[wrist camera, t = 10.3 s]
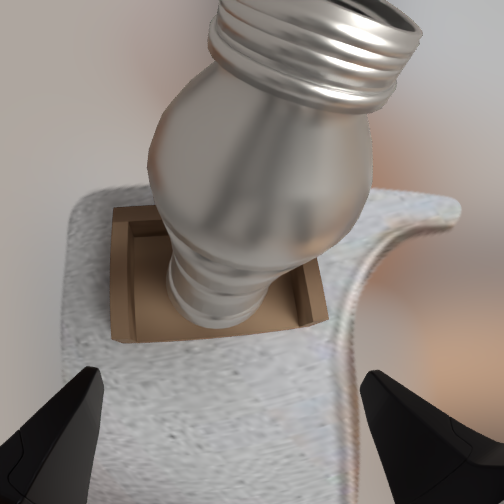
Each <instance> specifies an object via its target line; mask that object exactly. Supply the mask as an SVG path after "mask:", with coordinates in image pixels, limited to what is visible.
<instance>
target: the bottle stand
mask: <svg viewBox="0 0 504 504" xmlns="http://www.w3.org/2000/svg"><path fill="white" fill-rule="evenodd" d="M172 253H173V249H172V244H171V239H170V236H169V234H168V232H167V229H166V227H165V225H164V223H163V220H162V218H161V216H160V214H159V211H158V209H157V207H156V205H147V206H130V207H116V208H113V219H112V234H111V253H110V321H111V339H112V340H115V341H118V342H121V343H150V342H170V341H185V340H199V339H211V338H222V337H232V336H241V335H250V334H258V333H266V332H274V331H281V330H289V329H295V328H302V327H309V326H312V325H315V324H317V323H320V322H323V321H326V320H328V319H329V317H328V312H327V306H326V301H325V296H324V291H323V285H322V280H321V276H320V271H319V266H318V261H317V257H316V258H314V259H312V260H311V261H309V262H307V263H305V264H302V265H300V266H299V267H297V268H295V269H293V270H291V271H289V272H287V273H285V274H282V275H281V276H280V277H278V278H277V279H276V280H274V281H273V282H272V283H271V284H270V286H269V287H268V291H267V293H266V295H265V297H264V299H263V301H262V303H261V305H260V307H259V308H258V309H257V310H256V312H255V313H254V314H253V315H252V316H251V317H249V318H248V319H247V320H245V321H244V322H242V323H240V324H238V325H235V326H232V327H229V328H222V329H212V328H205V327H202V326H198V325H196V324H194V323H192V322H190V321H188V320H187V319H185V318H184V317H183V316H182V315H181V314H179V312H178V311H177V310H176V309H175V307H174V306H173V304H172V302H171V300H170V298H169V296H168V292H167V288H166V275H167V270H168V265H169V262H170V259H171V257H172Z"/></svg>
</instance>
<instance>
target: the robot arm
mask: <svg viewBox="0 0 504 504" xmlns="http://www.w3.org/2000/svg"><path fill="white" fill-rule="evenodd" d="M103 394H104V384H103V381H102V377H101V374H100V370H99V369H98V368H96V367H90V366H86V367H85V368H84V369H82V370H81V371H80V372H79V373H78V374H77V375H76V376H75V377H74V378H73V379H72V380H70V381H69V382H68V383H67V384H66V385H65V386H64V387H63V388H62V389H61V390H60V391H59V392H58V393H57V394H55V395H54V396H53V397H52V398H51V399H50V400H49V401H48V402H47V403H46V404H45V405H44V406H43V407H42V408H40V409H39V410H38V411H37V412H36V413H35V414H34V415H33V416H32V417H31V418H30V419H29V420H28V421H27V422H26V423H25V424H24V425H23V426H22V427H21V428H20V430H17V431H16V432H15V434H13V435H12V436H11V437H10V438H9V439H8V440H7V441H6V442H5V443H3V444H2V445H1V446H0V504H87V496H88V489H89V483H90V477H91V471H92V465H93V460H94V455H95V450H96V445H97V440H98V435H99V429H100V420H101V410H102V402H103ZM360 394H361V398H362V402H363V405H364V410H365V414H366V418H367V422H368V426H369V428H370V431H371V434H372V437H373V439H374V443H375V445H376V448H377V451H378V454H379V457H380V460H381V462H382V465H383V468H384V471H385V474H386V477H387V480H388V483H389V486H390V489H391V493H392V496H393V498H394V502H395V504H504V443H500V442H496V441H494V440H492V439H490V438H488V437H486V436H484V435H482V434H480V433H478V432H476V431H474V430H472V429H470V428H468V427H466V426H465V425H463V424H461V423H460V422H458V421H457V420H455V419H453V418H452V417H449V415H447V414H446V413H444V412H442V411H441V410H439V409H437V408H436V407H435V406H433V405H432V404H430V403H428V402H427V401H425V400H424V399H422V398H421V397H419V396H418V395H416V394H415V393H413V392H412V391H410V390H409V389H407V388H406V387H404V386H403V385H401V384H400V383H398V382H397V381H395V380H394V379H392V378H391V377H389V376H388V375H386V374H384V373H383V372H382V371H380V370H372V371H369V372H368V373H367V374H366V376H365V378H364V380H363V382H362V384H361V386H360Z"/></svg>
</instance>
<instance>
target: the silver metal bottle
mask: <svg viewBox="0 0 504 504" xmlns="http://www.w3.org/2000/svg"><path fill="white" fill-rule="evenodd" d="M422 36H423V33H422V30H421V29H420V28H419V26H418V25H417V24H416V23H415V22H414V21H413V20H412V19H411V18H409V17H408V16H407V15H406V14H405V13H403V12H402V11H401V10H399V9H398V8H396V7H395V6H393V5H392V4H390V3H389V2H387V1H386V0H219V5H218V11H217V15H215V16H214V17H213V19H212V20H211V22H210V26H209V33H208V40H207V42H208V50H209V52H210V54H211V56H212V58H213V59H214V60H215V61H214V62H213V63H212V64H210V65H209V66H208V67H207V68H206V69H204V70H203V71H202V72H200V73H199V74H198V75H197V76H195V77H194V78H193V79H192V80H191V81H190V82H189V83H188V84H187V85H186V86H185V87H184V88H183V89H182V90H181V92H180V93H179V94H178V95H177V96H176V97H175V98H174V99H173V101H172V102H171V103H170V104H169V106H168V107H167V108H166V110H165V111H164V112H163V114H162V116H161V118H160V121H159V123H158V125H157V128H156V131H155V133H154V136H153V139H152V142H151V145H150V148H149V153H148V162H147V170H148V175H149V182H150V187H151V190H152V194H153V198H154V202H155V205H156V207H157V209H158V211H159V214H160V216H161V218H162V220H163V223H164V225H165V227H166V229H167V232H168V234H169V236H170V239H171V244H172V249H173V253H172V257H171V259H170V262H169V265H168V270H167V275H166V288H167V292H168V296H169V298H170V300H171V302H172V304H173V306H174V307H175V309H176V310H177V311H178V312H179V314H181V315H182V316H183V317H184V318H185V319H187V320H188V321H190V322H192V323H194V324H196V325H198V326H202V327H205V328H212V329H222V328H229V327H232V326H235V325H238V324H240V323H242V322H244V321H245V320H247V319H248V318H249V317H251V316H252V315H253V314H254V313H255V312H256V310H257V309H258V308H259V307H260V305H261V303H262V301H263V299H264V297H265V295H266V293H267V291H268V287H269V286H270V284H271V283H272V282H273V281H274V280H276V279H277V278H278V277H280V276H281V275H282V274H285V273H287V272H289V271H291V270H293V269H295V268H297V267H299V266H300V265H302V264H305V263H307V262H309V261H311V260H312V259H314V258H316V257H318V256H320V255H322V254H323V253H324V252H326V251H327V250H328V249H330V248H331V247H333V246H334V245H336V244H337V243H338V242H339V241H340V240H342V239H343V238H344V237H345V236H346V235H347V234H348V233H349V232H350V231H351V229H352V228H353V226H354V225H355V223H356V221H357V220H358V218H359V216H360V214H361V212H362V210H363V207H364V205H365V203H366V200H367V198H368V195H369V192H370V188H371V185H372V172H373V171H372V170H373V165H372V139H371V134H370V128H369V123H368V118H367V114H368V113H373V112H375V111H378V110H380V109H381V108H382V107H383V106H384V105H385V104H386V103H387V101H388V99H389V98H390V97H391V95H392V94H393V92H394V91H395V90H396V85H397V80H396V79H397V77H398V76H399V74H400V73H401V71H402V70H403V68H404V67H405V65H406V63H407V62H408V61H409V59H410V58H411V56H412V54H413V53H414V52H415V50H416V49H417V47H418V46H419V44H420V43H419V40H420V38H421V37H422Z"/></svg>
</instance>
